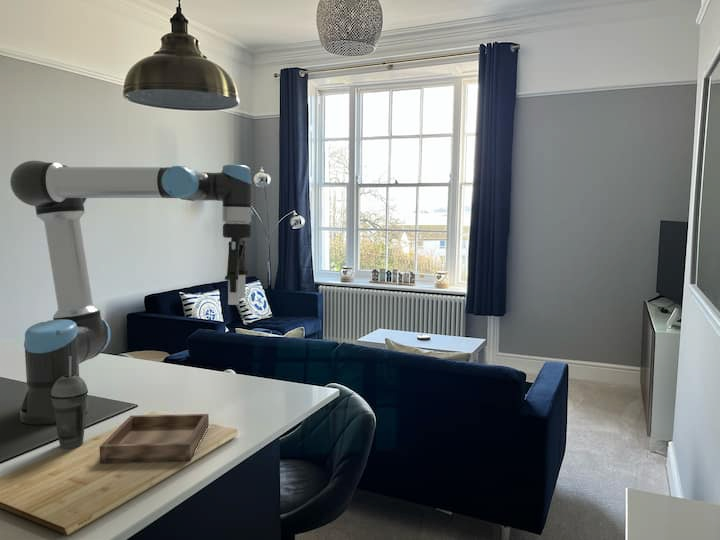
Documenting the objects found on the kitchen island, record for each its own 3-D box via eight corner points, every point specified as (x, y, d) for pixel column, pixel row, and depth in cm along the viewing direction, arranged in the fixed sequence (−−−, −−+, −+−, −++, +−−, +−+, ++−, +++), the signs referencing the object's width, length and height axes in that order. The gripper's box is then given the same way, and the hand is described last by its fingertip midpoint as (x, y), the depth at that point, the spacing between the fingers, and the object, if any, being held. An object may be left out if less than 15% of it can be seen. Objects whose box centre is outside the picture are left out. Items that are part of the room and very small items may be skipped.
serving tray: (100, 463, 110) (99, 446, 110) (131, 430, 128) (130, 415, 128) (190, 460, 112) (190, 444, 111) (208, 428, 130) (208, 413, 129)
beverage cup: (81, 435, 125) (77, 349, 123) (96, 443, 120) (92, 354, 119) (47, 445, 119) (42, 355, 118) (61, 454, 115) (57, 361, 113)
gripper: (245, 223, 135) (245, 307, 137) (255, 223, 160) (255, 295, 162) (214, 222, 135) (215, 307, 136) (229, 222, 159) (230, 294, 161)
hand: (237, 301), depth 149 cm, fingers open, 13 cm apart
